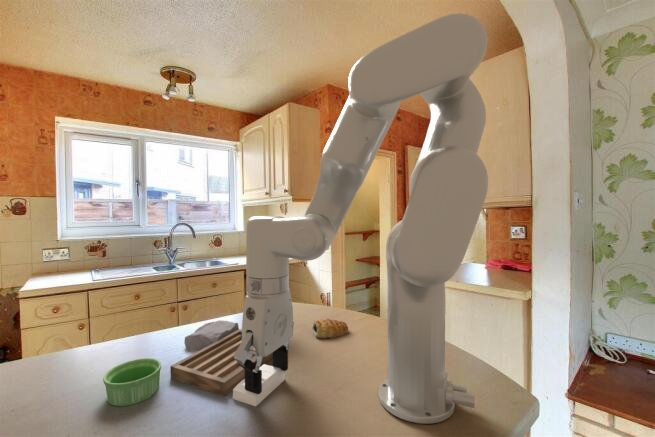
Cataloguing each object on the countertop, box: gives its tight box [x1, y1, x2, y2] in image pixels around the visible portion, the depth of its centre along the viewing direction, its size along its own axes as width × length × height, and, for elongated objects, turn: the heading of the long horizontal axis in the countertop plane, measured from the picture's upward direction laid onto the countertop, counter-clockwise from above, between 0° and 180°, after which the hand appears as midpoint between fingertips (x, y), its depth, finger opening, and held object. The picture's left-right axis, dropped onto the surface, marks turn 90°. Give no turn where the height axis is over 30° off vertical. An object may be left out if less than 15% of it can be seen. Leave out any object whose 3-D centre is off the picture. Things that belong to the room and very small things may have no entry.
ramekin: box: [102, 357, 162, 407], centre depth 57 cm, size 9×9×4 cm
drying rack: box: [169, 328, 273, 397], centre depth 68 cm, size 14×20×2 cm
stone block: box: [183, 319, 240, 352], centre depth 79 cm, size 12×5×10 cm
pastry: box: [312, 318, 349, 339], centre depth 83 cm, size 9×7×4 cm
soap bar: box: [232, 364, 286, 407], centre depth 58 cm, size 5×9×3 cm, turn 155°
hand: (267, 378), depth 57 cm, fingers closed on soap bar, 7 cm apart
